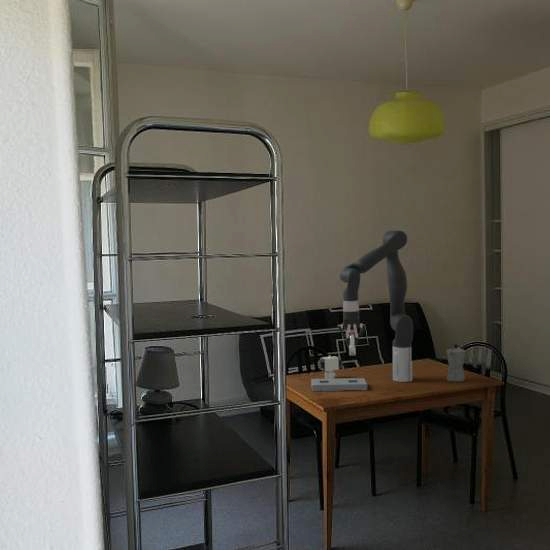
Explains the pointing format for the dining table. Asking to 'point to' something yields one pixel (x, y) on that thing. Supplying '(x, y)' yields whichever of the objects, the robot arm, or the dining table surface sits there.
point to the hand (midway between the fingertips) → (352, 345)
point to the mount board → (338, 384)
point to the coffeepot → (455, 364)
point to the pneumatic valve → (329, 365)
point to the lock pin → (352, 342)
